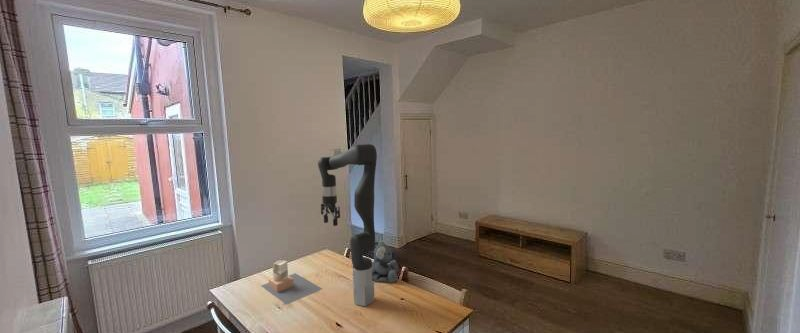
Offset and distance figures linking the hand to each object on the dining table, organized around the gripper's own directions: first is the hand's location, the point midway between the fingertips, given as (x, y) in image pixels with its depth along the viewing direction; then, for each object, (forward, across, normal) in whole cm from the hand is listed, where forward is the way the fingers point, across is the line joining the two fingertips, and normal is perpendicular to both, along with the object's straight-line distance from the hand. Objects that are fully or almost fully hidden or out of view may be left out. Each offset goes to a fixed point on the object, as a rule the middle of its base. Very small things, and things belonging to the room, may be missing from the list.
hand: (330, 224), depth 169 cm
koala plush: (+32, +16, +22) cm, 42 cm away
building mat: (+32, -10, -19) cm, 39 cm away
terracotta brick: (+32, -15, -22) cm, 41 cm away
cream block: (+28, -15, -22) cm, 38 cm away
